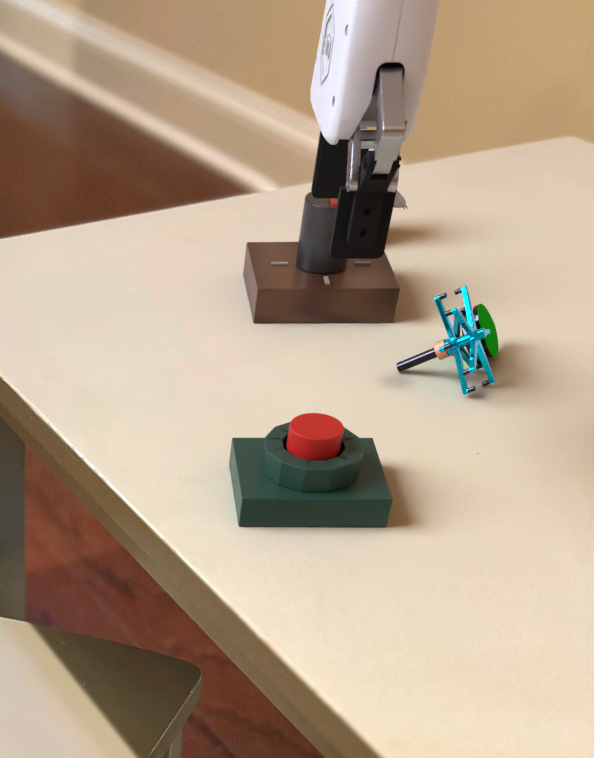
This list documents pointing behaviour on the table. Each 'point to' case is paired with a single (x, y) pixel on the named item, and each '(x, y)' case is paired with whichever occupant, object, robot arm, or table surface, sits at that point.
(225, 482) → the table surface
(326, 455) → the red push button
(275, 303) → the panel
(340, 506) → the button base
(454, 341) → the stick construction toy
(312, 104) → the robot arm
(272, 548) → the table surface
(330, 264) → the dial
